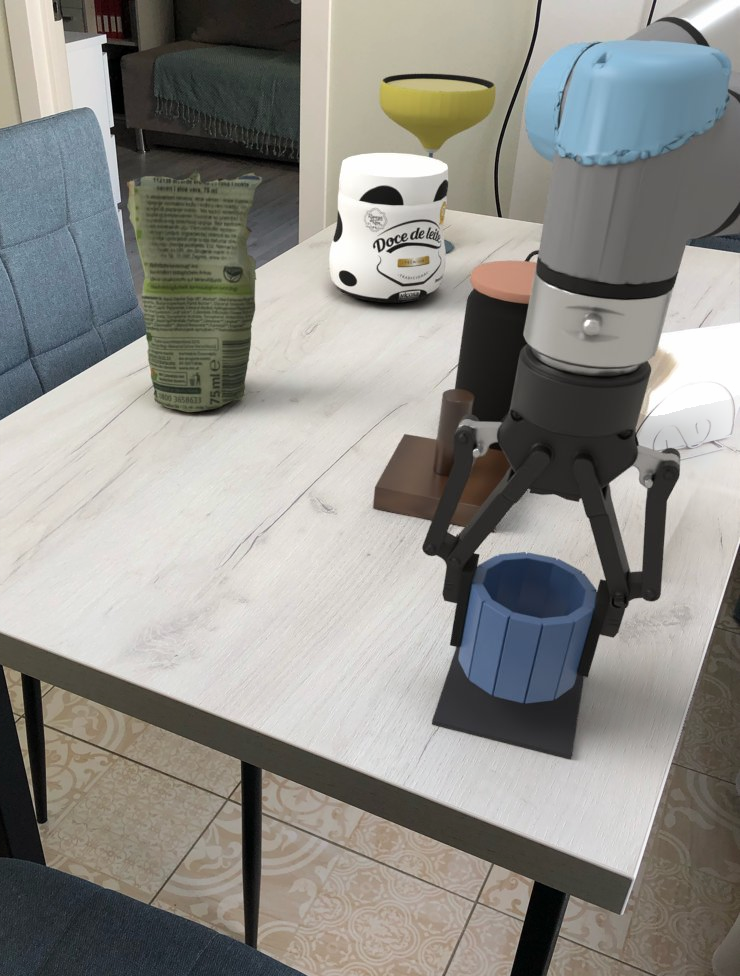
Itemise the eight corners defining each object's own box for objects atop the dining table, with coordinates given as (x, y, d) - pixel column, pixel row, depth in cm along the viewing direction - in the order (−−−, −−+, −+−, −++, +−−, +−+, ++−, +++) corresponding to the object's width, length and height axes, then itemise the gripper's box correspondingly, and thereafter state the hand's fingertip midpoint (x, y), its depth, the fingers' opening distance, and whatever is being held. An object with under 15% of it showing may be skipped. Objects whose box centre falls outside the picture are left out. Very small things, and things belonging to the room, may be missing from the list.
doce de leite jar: (411, 320, 133) (424, 186, 122) (306, 296, 140) (310, 167, 129) (460, 287, 145) (476, 161, 134) (361, 266, 152) (369, 145, 141)
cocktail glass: (486, 239, 165) (508, 79, 150) (457, 268, 152) (479, 96, 137) (389, 225, 171) (401, 70, 156) (353, 252, 158) (363, 85, 143)
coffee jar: (527, 470, 99) (561, 302, 88) (434, 445, 103) (454, 281, 92) (557, 431, 107) (591, 271, 96) (468, 409, 111) (491, 253, 100)
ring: (580, 642, 71) (601, 566, 67) (569, 714, 65) (591, 636, 61) (471, 617, 73) (484, 543, 69) (449, 685, 67) (462, 607, 63)
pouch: (132, 397, 111) (113, 172, 96) (202, 367, 119) (195, 153, 104) (200, 426, 106) (191, 191, 91) (269, 393, 113) (271, 170, 98)
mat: (584, 671, 74) (585, 667, 73) (570, 759, 66) (572, 755, 66) (458, 642, 76) (459, 638, 76) (431, 724, 69) (432, 720, 68)
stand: (513, 474, 98) (530, 380, 92) (494, 532, 89) (512, 433, 83) (402, 454, 101) (411, 362, 95) (372, 508, 92) (381, 410, 86)
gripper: (394, 347, 54) (365, 647, 68) (787, 407, 49) (671, 720, 63) (423, 305, 60) (391, 589, 74) (778, 355, 55) (673, 652, 68)
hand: (520, 649), depth 68 cm, fingers closed on ring, 8 cm apart
